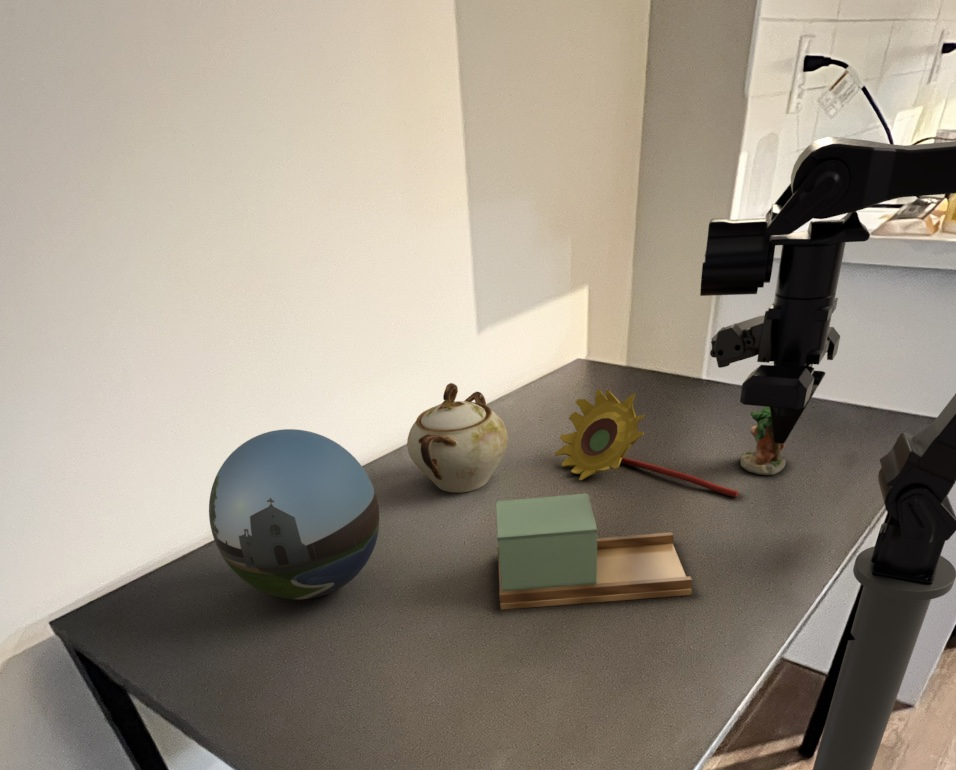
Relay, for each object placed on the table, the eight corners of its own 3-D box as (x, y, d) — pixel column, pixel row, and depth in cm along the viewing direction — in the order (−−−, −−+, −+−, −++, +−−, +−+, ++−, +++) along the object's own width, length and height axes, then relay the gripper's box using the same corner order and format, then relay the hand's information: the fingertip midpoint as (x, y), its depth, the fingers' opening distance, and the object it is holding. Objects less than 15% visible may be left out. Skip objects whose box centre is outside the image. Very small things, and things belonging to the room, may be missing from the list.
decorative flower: (701, 523, 98) (535, 465, 116) (730, 523, 104) (568, 467, 122) (737, 419, 93) (557, 374, 111) (765, 425, 99) (590, 381, 117)
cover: (587, 551, 93) (587, 493, 88) (596, 589, 87) (597, 529, 82) (500, 558, 94) (495, 501, 89) (502, 597, 87) (497, 537, 82)
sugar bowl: (478, 516, 105) (467, 411, 96) (388, 504, 111) (369, 403, 102) (530, 459, 119) (525, 362, 109) (447, 451, 124) (436, 358, 115)
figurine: (749, 452, 113) (764, 349, 103) (800, 461, 109) (821, 355, 100) (726, 476, 108) (740, 370, 98) (779, 486, 104) (798, 376, 94)
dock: (670, 545, 94) (672, 531, 93) (691, 595, 85) (692, 580, 84) (498, 559, 96) (497, 545, 94) (500, 609, 87) (499, 595, 86)
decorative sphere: (353, 640, 85) (312, 476, 72) (208, 624, 90) (146, 469, 78) (414, 553, 99) (388, 403, 86) (285, 543, 104) (243, 401, 92)
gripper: (747, 269, 84) (731, 406, 94) (697, 314, 72) (684, 466, 82) (854, 270, 79) (824, 415, 89) (819, 319, 67) (789, 480, 77)
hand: (779, 442), depth 85 cm, fingers closed
